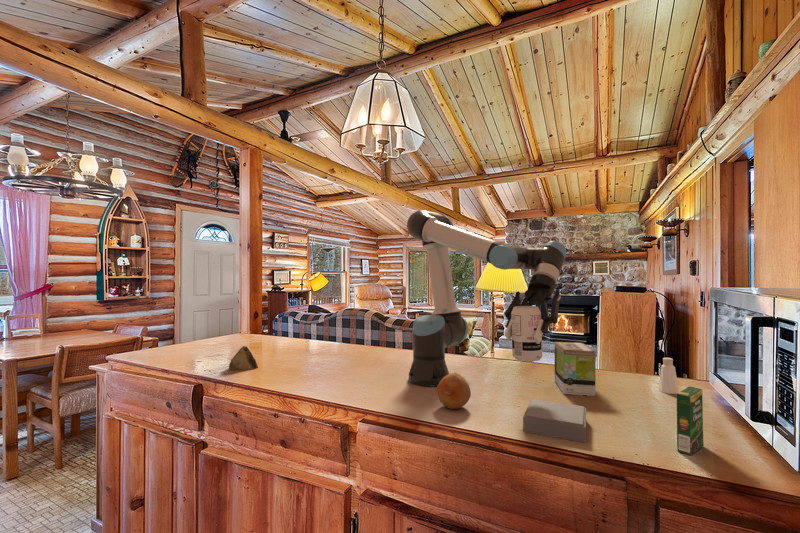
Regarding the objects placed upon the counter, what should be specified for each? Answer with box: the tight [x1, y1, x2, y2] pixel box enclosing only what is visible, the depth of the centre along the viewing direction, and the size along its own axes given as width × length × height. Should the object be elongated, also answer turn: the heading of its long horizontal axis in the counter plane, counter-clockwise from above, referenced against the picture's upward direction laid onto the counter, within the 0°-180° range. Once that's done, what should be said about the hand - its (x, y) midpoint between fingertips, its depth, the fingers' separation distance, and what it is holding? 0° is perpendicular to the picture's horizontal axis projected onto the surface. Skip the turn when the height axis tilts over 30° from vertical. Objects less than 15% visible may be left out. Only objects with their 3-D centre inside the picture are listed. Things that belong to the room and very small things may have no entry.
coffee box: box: [675, 386, 705, 457], centre depth 84 cm, size 8×3×13 cm, turn 125°
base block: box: [522, 398, 587, 444], centre depth 96 cm, size 14×14×4 cm
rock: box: [228, 345, 259, 371], centre depth 157 cm, size 11×9×10 cm
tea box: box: [554, 341, 597, 397], centre depth 127 cm, size 15×10×15 cm, turn 168°
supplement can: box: [511, 305, 543, 362], centre depth 108 cm, size 8×8×15 cm
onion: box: [436, 372, 472, 410], centre depth 110 cm, size 10×10×10 cm
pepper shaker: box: [658, 357, 680, 395], centre depth 123 cm, size 5×5×11 cm
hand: (521, 339), depth 106 cm, fingers closed on supplement can, 8 cm apart
